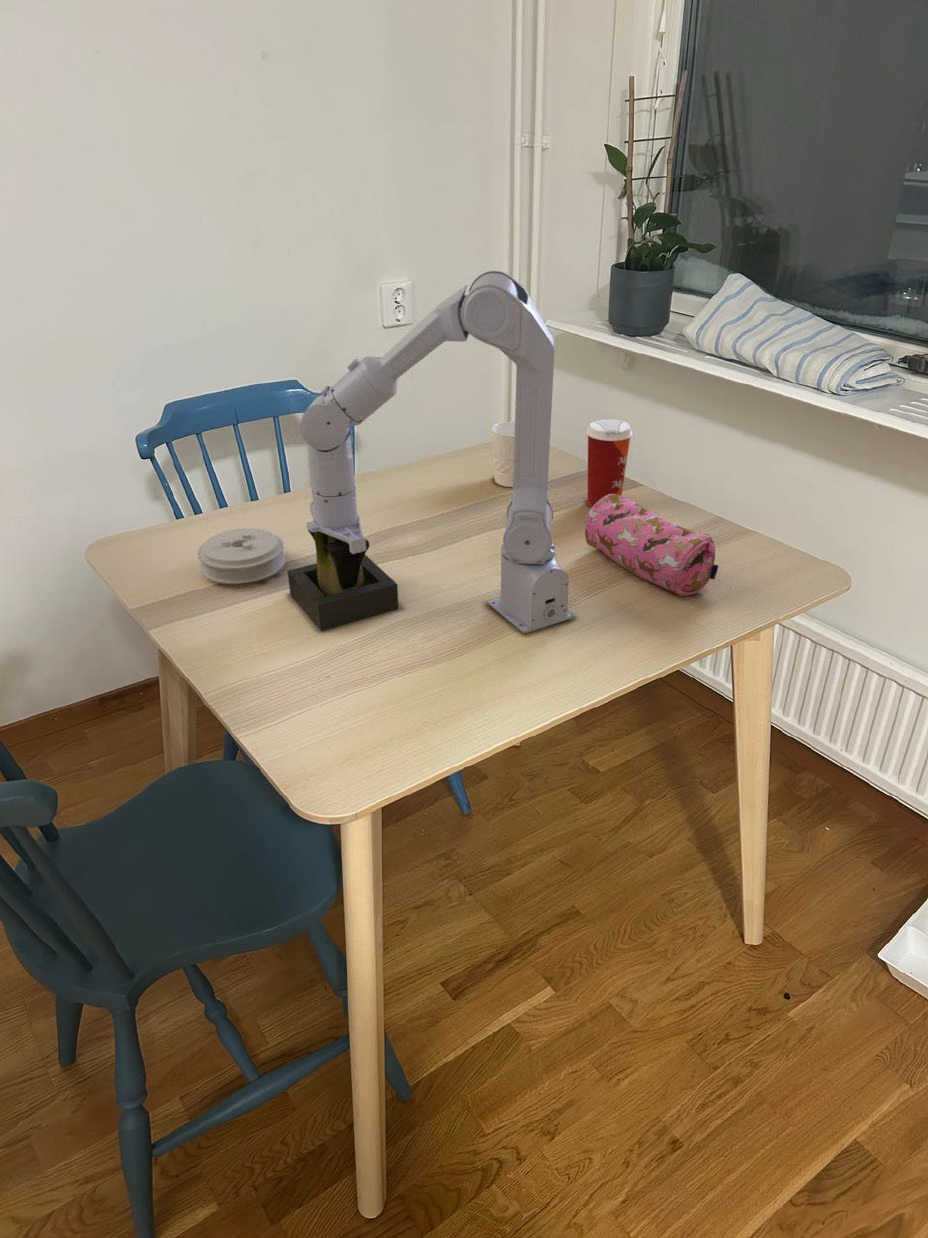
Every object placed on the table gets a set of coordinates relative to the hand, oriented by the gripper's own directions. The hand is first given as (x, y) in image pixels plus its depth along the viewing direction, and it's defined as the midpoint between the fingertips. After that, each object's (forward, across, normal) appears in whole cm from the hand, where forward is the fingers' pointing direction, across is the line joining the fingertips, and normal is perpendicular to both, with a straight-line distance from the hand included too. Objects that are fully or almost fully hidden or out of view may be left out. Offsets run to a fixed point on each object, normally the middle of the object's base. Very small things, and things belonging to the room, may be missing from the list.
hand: (341, 579), depth 124 cm
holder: (+4, 0, 0) cm, 4 cm away
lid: (+4, -17, -9) cm, 20 cm away
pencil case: (+4, +14, +43) cm, 45 cm away
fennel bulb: (+4, 0, 0) cm, 4 cm away
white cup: (+4, -26, +45) cm, 52 cm away
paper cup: (+4, -9, +53) cm, 54 cm away
